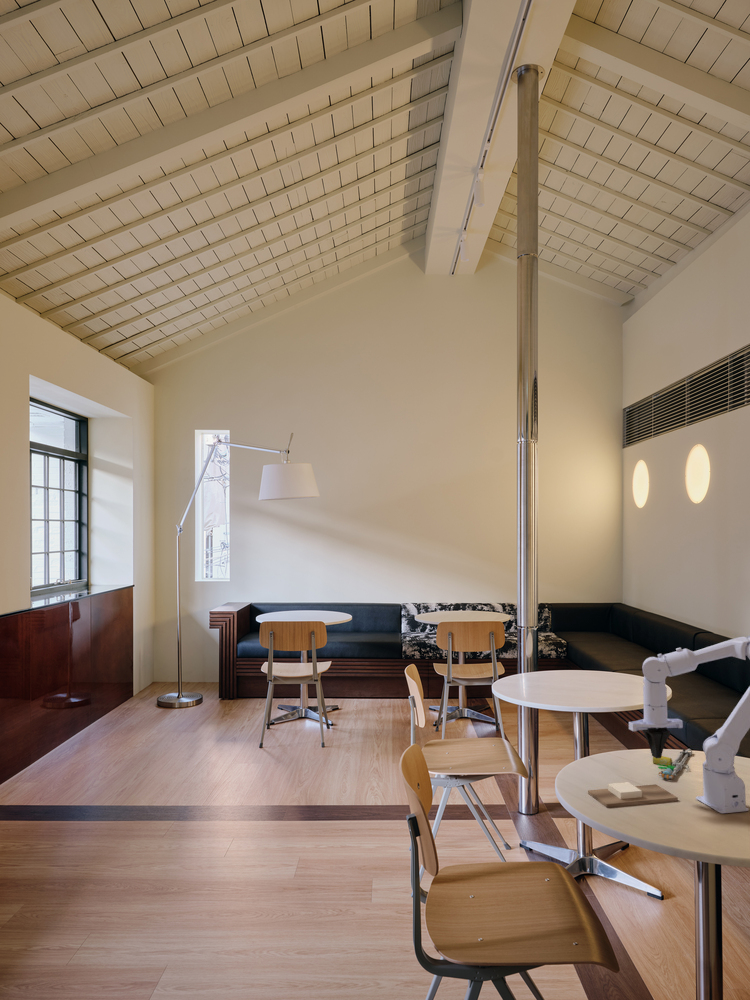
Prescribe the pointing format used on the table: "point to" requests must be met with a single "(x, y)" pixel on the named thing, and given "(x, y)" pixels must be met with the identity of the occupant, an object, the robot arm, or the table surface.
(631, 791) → the tile
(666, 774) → the flamethrower
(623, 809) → the table surface
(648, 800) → the board
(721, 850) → the table surface
